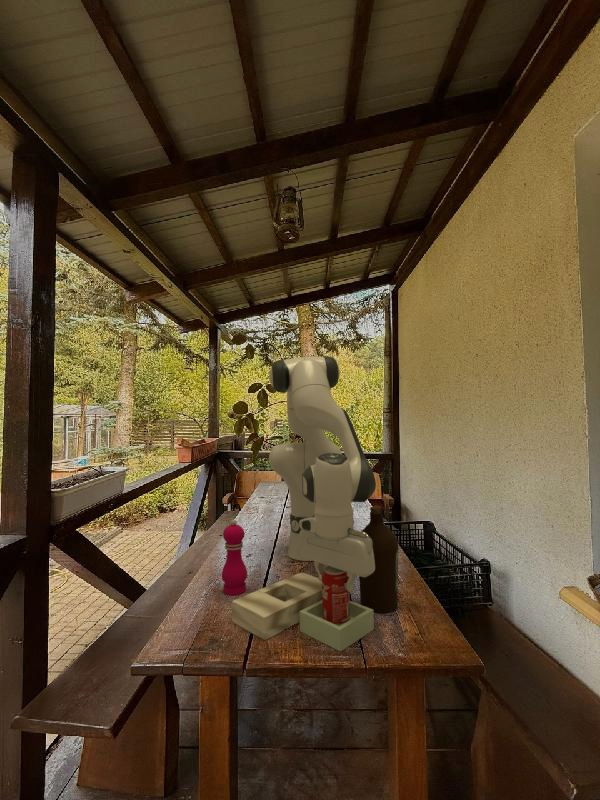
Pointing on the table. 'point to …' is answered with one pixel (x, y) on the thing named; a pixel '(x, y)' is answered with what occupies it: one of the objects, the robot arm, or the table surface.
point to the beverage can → (335, 596)
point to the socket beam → (276, 605)
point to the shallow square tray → (332, 633)
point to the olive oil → (381, 566)
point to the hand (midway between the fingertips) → (335, 585)
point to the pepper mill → (234, 560)
